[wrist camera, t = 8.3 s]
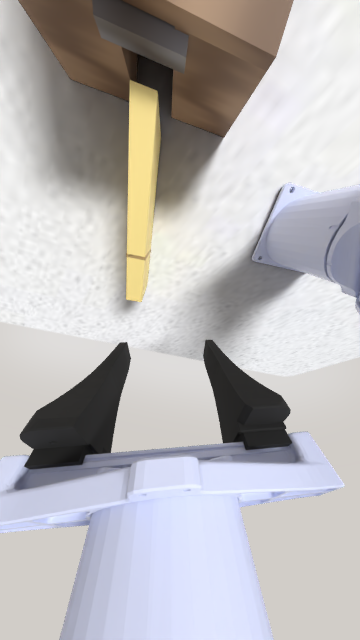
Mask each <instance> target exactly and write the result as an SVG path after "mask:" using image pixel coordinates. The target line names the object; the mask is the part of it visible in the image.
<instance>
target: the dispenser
mask: <svg viewBox="0 0 360 640" xmlns="http://www.w3.org/2000/svg"><path fill="white" fill-rule="evenodd" d="M18 1H19V2H20V4H21V5H22V7H23V8H24V10H25V11H26V13H27V14H28V16H29V17H30V19H31V20H32V22H33V23H34V25H35V26H36V28H37V29H38V31H39V32H40V34H41V35H42V37H43V38H44V40H45V41H46V43H47V44H48V46H49V47H50V49H51V50H52V52H53V54H54V55H55V57H56V58H57V60H58V61H59V63H60V64H61V66H62V67H63V69H64V70H65V72H66V73H67V75H68V76H69V78H70V79H71V80H74V81H77V82H79V83H82V84H84V85H87V86H90V87H92V88H95V89H98V90H100V91H103V92H106V93H108V94H111V95H113V96H116V97H119V98H121V99H124V100H127V101H129V97H130V80H132V81H134V82H137V62H138V54H139V55H141V56H144V57H146V58H148V59H151V60H153V61H155V62H157V63H160V64H162V65H164V66H167V67H169V68H171V69H173V87H172V113H171V118H174V119H177V120H179V121H182V122H185V123H187V124H190V125H192V126H195V127H198V128H200V129H203V130H206V131H208V132H211V133H214V134H216V135H219V136H221V137H225V135H226V134H227V132H228V130H229V129H230V127H231V126H232V124H233V123H234V121H235V120H236V118H237V117H238V115H239V113H240V112H241V110H242V109H243V107H244V106H245V104H246V103H247V101H248V100H249V98H250V96H251V95H252V93H253V92H254V90H255V89H256V87H257V86H258V84H259V82H260V81H261V79H262V78H263V76H264V75H265V73H266V72H267V70H268V69H269V67H270V65H271V64H272V62H273V61H274V59H275V58H276V55H277V52H278V49H279V46H280V42H281V39H282V36H283V33H284V29H285V26H286V23H287V20H288V17H289V13H290V10H291V7H292V4H293V0H18Z"/></svg>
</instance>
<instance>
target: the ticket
mask: <svg viewBox="0 0 360 640" xmlns="http://www.w3.org/2000/svg"><path fill="white" fill-rule="evenodd" d="M160 143H161V130H160V116H159V102H158V91H157V90H154V89H152V88H149V87H147V86H144V85H142V84H139V83H137V82H134V81H132V80H130V97H129V158H128V219H127V253H126V257H127V280H126V300H132V301H138V302H142V299H143V296H144V293H145V290H146V287H147V282H148V271H149V260H150V252H151V239H152V228H153V218H154V207H155V196H156V186H157V175H158V164H159V154H160Z"/></svg>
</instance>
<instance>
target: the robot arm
mask: <svg viewBox="0 0 360 640" xmlns="http://www.w3.org/2000/svg"><path fill="white" fill-rule="evenodd" d="M291 188H292V192H291V193H290V189H291ZM259 257H260V259H259V260H258V258H259ZM252 260H253V261H255V262H260V263H264V264H268V265H273V266H277V267H281V268H286V269H290V270H294V271H299V272H303V273H308V274H311V275H314V276H316V277H319V278H322V279H325V280H328V281H331V282H334V283H337V284H339V285H340V286H341V288H342V292H343V293H345V294H348V295H351V296H353V297H356V298H357V299H356V302H355V307H356V309H357V312H358V313H359V314H360V184H359V185H354V186H350V187H345V188H340V189H335V190H331V191H326V192H321V193H319V192H316V191H313V190H310V189H308V188H305V187H302V186H299V185H296V184H293V183H286V184H285V185H284V186H283V187H282V189H281V192H280V194H279V196H278V198H277V201H276V203H275V205H274V208H273V210H272V212H271V214H270V217H269V219H268V221H267V224H266V226H265V228H264V230H263V233H262V235H261V237H260V239H259V242H258V244H257V246H256V249H255V251H254V253H253V255H252ZM203 357H204V362H205V367H206V370H207V373H208V376H209V379H210V382H211V386H212V388H213V392H214V397H215V401H216V406H217V411H218V416H219V422H220V428H221V433H222V440H223V444H211V445H199V446H188V447H176V448H165V449H152V450H141V451H129V452H117V453H111V447H112V441H113V434H114V428H115V422H116V416H117V411H118V406H119V401H120V397H121V393H122V390H123V387H124V383H125V380H126V377H127V374H128V370H129V365H130V359H131V357H130V353H129V348H128V344H127V342H125V343H119V344H118V346H117V347H116V348H115V349H114V350H113V351H112V353H111V354H110V355H109V356H108V357H107V358H106V359H105V360H104V361H103V362H102V363H101V364H100V365H99V366H98V367H97V368H96V369H95V370H94V371H93V372H92V373H91V374H90V375H89V376H87V377H86V378H85V379H84V380H83V381H82V382H80V383H79V384H77V385H76V386H75V387H73V388H72V389H71V390H69V391H68V392H66V393H65V394H64V395H62V396H60V397H59V398H57V399H56V400H54V401H53V402H51V403H49V404H47V405H46V406H44V407H42V408H41V409H39V410H37V411H36V413H35V414H34V415H33V417H32V418H31V419H30V421H29V422H28V424H27V425H26V426H25V428H24V429H23V431H22V432H21V434H20V439H21V440H22V441H23V442H24V443H26V444H27V445H28V446H30V447H31V448H33V449H34V450H33V452H32V453H31V455H30V456H29V455H16V456H4V457H3V458H1V460H0V533H6V532H16V531H25V530H37V529H49V528H61V527H72V526H85V525H89V528H88V532H87V535H86V539H85V544H84V547H83V551H82V555H81V559H80V562H79V566H78V570H77V574H76V578H75V582H74V585H73V589H72V593H71V597H70V601H69V605H68V609H67V613H66V616H65V620H64V624H63V628H62V631H61V636H60V639H59V640H274V639H273V635H272V632H271V628H270V624H269V620H268V616H267V612H266V608H265V604H264V600H263V597H262V593H261V589H260V585H259V581H258V577H257V573H256V570H255V565H254V561H253V558H252V554H251V550H250V546H249V543H248V538H247V534H246V531H245V527H244V522H243V519H242V515H241V511H240V507H245V506H250V505H257V504H263V503H270V502H275V501H282V500H288V499H295V498H302V497H310V496H319V495H322V494H325V493H328V492H331V491H334V490H337V489H339V488H342V487H344V483H343V482H342V480H341V479H340V478H339V476H338V475H337V473H336V472H335V470H334V469H333V467H332V466H331V464H330V463H329V461H328V460H327V458H326V457H325V456H324V454H323V453H322V451H321V450H320V448H319V447H318V446H317V444H316V442H315V441H314V439H313V438H312V437H311V435H310V434H309V432H295V433H290V434H287V432H286V431H285V429H286V426H285V424H284V423H283V421H284V420H285V419H286V418H287V417H288V416H289V414H290V408H289V407H288V405H287V404H286V402H285V401H284V399H283V398H282V396H281V395H279V394H277V393H275V392H274V391H272V390H270V389H268V388H266V387H265V386H263V385H262V384H260V383H258V382H257V381H255V380H254V379H253V378H251V377H250V376H248V375H247V374H246V373H244V372H243V371H242V370H241V369H240V368H238V367H237V366H236V365H235V364H234V363H233V362H232V361H231V360H230V359H229V358H228V357H227V356H226V355H225V354H224V353H223V352H222V351H221V350H220V348H219V347H218V346H217V345H216V344H215V343H214V341H213V340H206V341H205V348H204V354H203Z"/></svg>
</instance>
